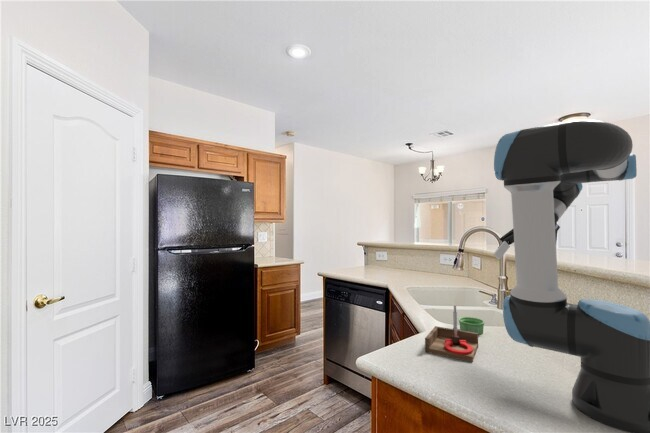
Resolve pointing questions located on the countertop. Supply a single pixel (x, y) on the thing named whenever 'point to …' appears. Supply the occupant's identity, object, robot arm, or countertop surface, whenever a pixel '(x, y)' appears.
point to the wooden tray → (437, 341)
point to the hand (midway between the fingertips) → (511, 259)
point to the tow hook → (457, 339)
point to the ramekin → (471, 324)
